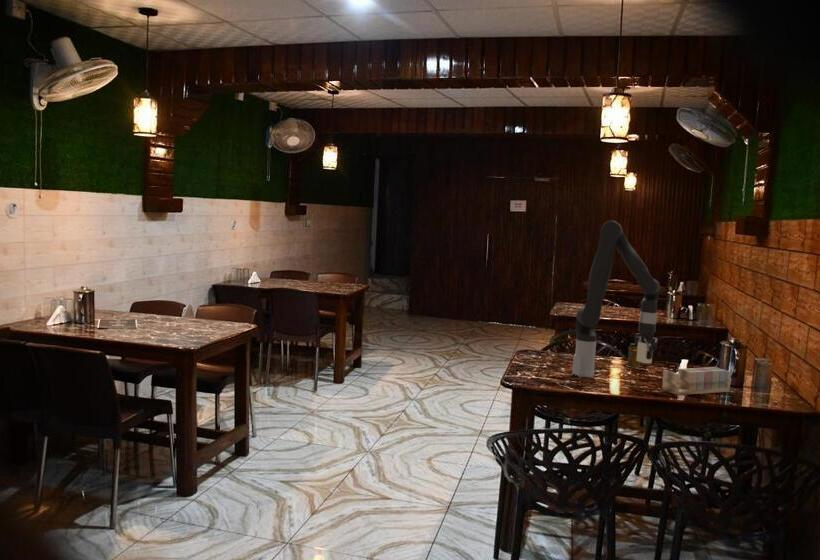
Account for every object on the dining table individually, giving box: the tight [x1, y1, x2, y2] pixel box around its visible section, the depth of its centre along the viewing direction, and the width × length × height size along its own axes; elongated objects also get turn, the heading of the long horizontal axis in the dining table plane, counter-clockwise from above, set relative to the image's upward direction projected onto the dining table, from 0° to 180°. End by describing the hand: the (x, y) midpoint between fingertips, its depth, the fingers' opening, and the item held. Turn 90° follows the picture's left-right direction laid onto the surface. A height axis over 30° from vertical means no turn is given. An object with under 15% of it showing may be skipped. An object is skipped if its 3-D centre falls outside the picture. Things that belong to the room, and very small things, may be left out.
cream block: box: [636, 341, 654, 364], centre depth 302 cm, size 4×6×9 cm
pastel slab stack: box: [661, 366, 732, 396], centre depth 292 cm, size 9×30×10 cm, turn 111°
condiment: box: [627, 342, 641, 367], centre depth 340 cm, size 7×8×12 cm
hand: (644, 357), depth 302 cm, fingers closed on cream block, 5 cm apart
